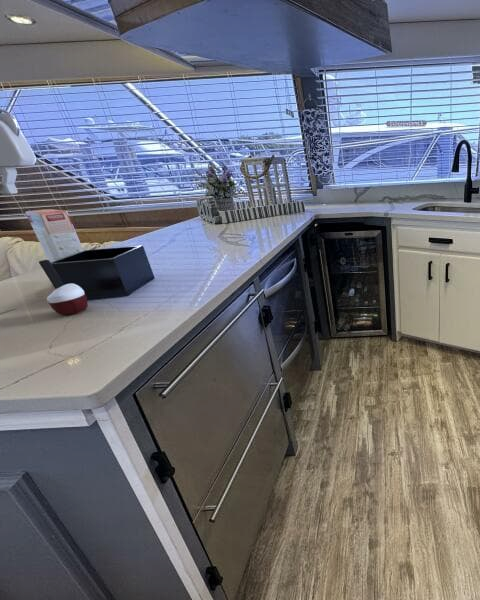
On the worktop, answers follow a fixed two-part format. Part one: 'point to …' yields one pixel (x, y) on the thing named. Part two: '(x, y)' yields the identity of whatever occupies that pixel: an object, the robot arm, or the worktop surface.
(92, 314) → the worktop surface
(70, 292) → the red white rounded piece
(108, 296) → the black open box
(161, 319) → the worktop surface
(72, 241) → the cracker box
